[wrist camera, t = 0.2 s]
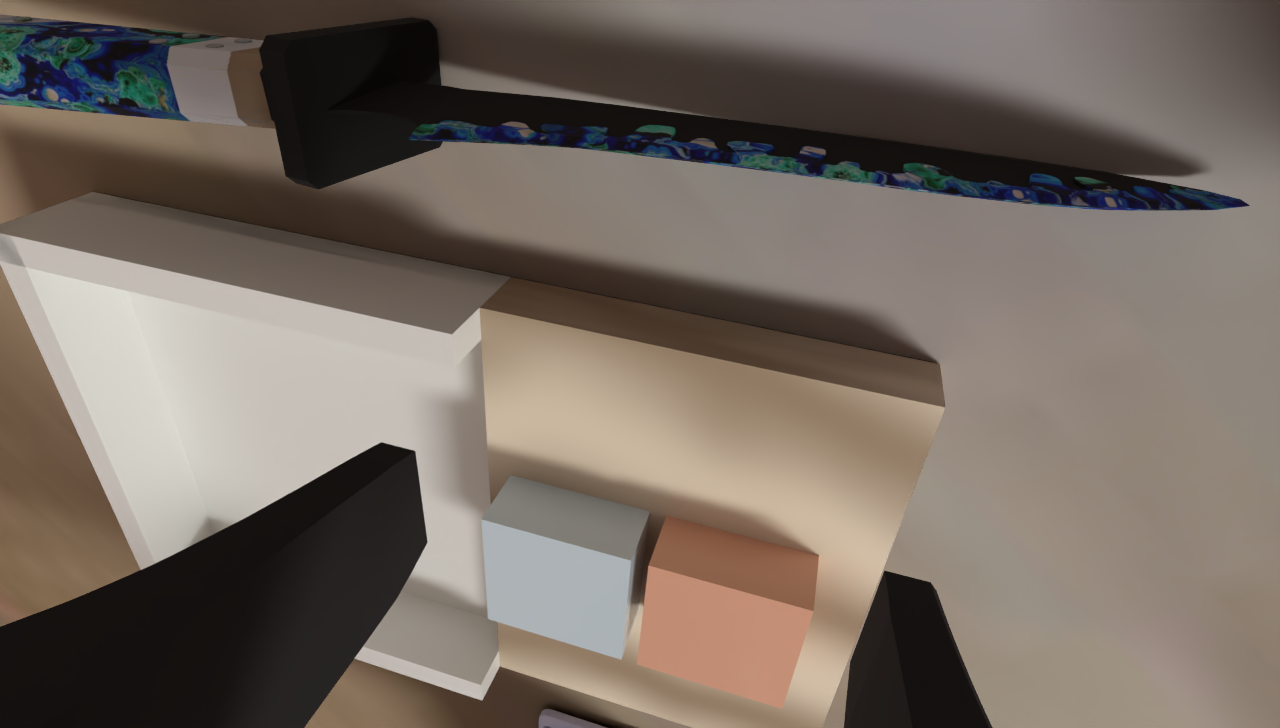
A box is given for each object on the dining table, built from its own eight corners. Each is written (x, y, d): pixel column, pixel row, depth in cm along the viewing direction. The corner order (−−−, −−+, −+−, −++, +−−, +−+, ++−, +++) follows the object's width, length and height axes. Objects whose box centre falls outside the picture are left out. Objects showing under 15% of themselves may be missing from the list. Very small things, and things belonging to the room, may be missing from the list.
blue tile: (639, 608, 24) (621, 659, 22) (514, 572, 25) (488, 619, 23) (650, 511, 21) (630, 560, 20) (510, 474, 22) (481, 519, 20)
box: (520, 625, 30) (482, 700, 27) (214, 532, 32) (150, 591, 30) (511, 277, 21) (452, 334, 18) (92, 191, 24) (-16, 229, 21)
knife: (13, 64, 20) (-161, 103, 16) (-32, -60, 18) (-237, -47, 15) (1125, 264, 18) (1212, 361, 14) (1193, 145, 16) (1312, 220, 12)
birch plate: (812, 713, 27) (807, 764, 26) (520, 625, 30) (499, 666, 28) (939, 364, 18) (945, 407, 17) (511, 277, 21) (479, 307, 19)
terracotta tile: (789, 652, 23) (782, 708, 21) (653, 613, 24) (636, 664, 22) (819, 555, 20) (813, 611, 19) (666, 515, 21) (648, 565, 20)
